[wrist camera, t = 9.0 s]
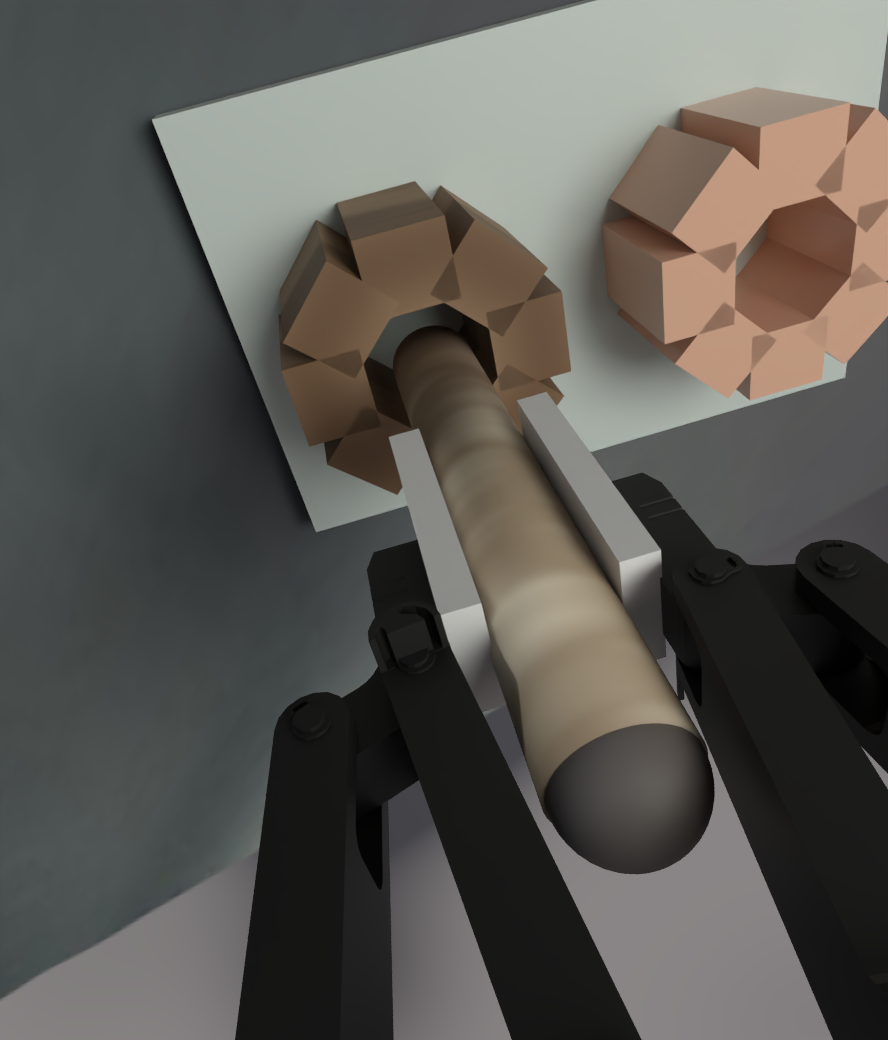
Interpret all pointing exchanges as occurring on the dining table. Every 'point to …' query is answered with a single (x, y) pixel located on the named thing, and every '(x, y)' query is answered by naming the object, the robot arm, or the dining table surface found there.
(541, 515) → the wooden dowel rod
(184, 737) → the dining table surface
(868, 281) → the terracotta bead
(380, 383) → the walnut bead
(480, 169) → the board
